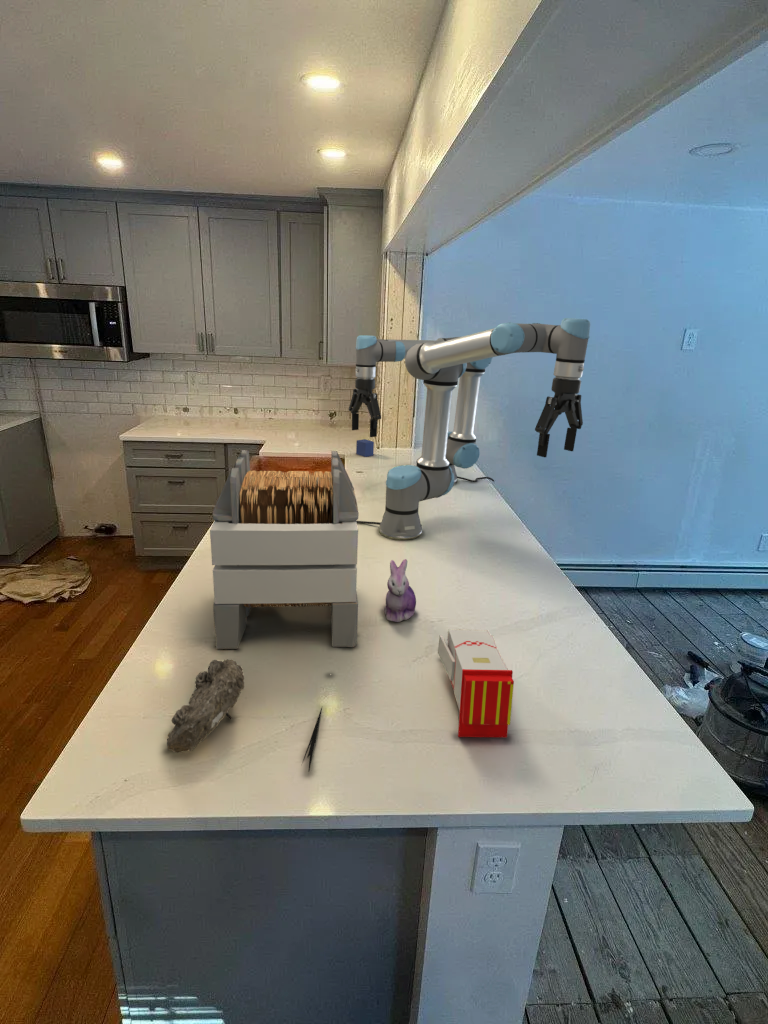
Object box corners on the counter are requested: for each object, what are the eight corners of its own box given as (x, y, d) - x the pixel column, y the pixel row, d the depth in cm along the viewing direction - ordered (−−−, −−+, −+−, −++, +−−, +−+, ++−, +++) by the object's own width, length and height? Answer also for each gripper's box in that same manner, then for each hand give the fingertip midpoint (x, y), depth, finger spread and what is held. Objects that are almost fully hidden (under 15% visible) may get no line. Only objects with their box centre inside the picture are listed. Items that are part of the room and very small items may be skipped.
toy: (488, 613, 130) (523, 677, 101) (484, 667, 133) (517, 744, 104) (435, 612, 130) (455, 676, 101) (432, 666, 133) (451, 743, 103)
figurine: (392, 627, 141) (395, 572, 136) (374, 608, 149) (376, 556, 144) (425, 619, 145) (429, 566, 140) (405, 601, 154) (408, 550, 149)
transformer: (234, 582, 160) (226, 440, 146) (350, 581, 163) (353, 443, 150) (213, 651, 128) (201, 478, 114) (357, 647, 132) (363, 480, 118)
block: (365, 456, 300) (365, 443, 298) (356, 454, 305) (356, 440, 303) (373, 455, 304) (373, 441, 302) (364, 452, 309) (364, 439, 307)
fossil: (192, 660, 117) (244, 628, 112) (224, 691, 120) (276, 661, 115) (142, 746, 98) (202, 712, 93) (182, 779, 101) (242, 748, 96)
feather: (331, 679, 122) (336, 673, 122) (307, 777, 96) (313, 769, 95) (324, 675, 122) (329, 669, 121) (298, 772, 95) (304, 764, 95)
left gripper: (553, 381, 145) (540, 462, 152) (603, 377, 160) (590, 450, 168) (528, 378, 150) (518, 455, 157) (579, 374, 166) (568, 445, 173)
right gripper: (340, 374, 223) (340, 428, 230) (374, 382, 203) (372, 440, 211) (357, 373, 227) (355, 426, 234) (391, 381, 207) (389, 438, 215)
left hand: (555, 453), depth 163 cm, fingers open, 13 cm apart
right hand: (363, 433), depth 222 cm, fingers open, 13 cm apart
